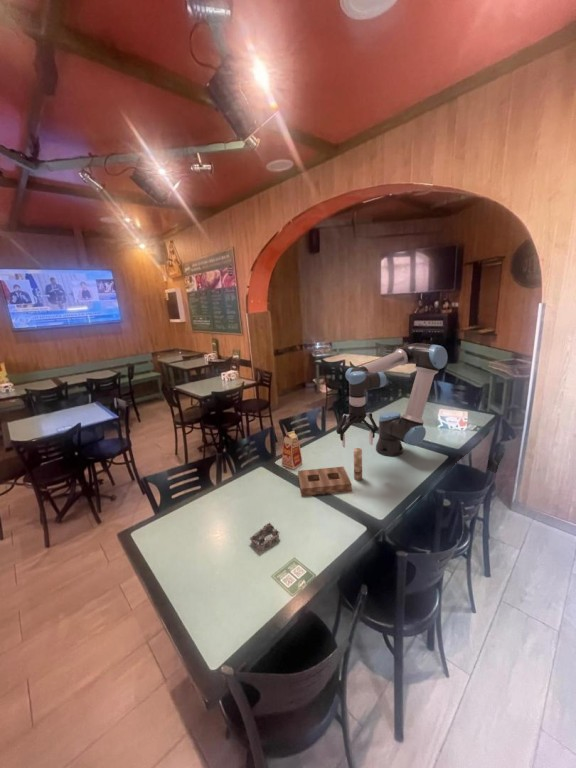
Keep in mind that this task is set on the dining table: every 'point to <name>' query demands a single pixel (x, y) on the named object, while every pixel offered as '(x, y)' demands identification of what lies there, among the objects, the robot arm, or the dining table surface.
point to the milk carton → (291, 451)
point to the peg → (358, 464)
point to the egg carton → (261, 538)
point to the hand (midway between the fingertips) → (357, 445)
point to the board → (324, 481)
